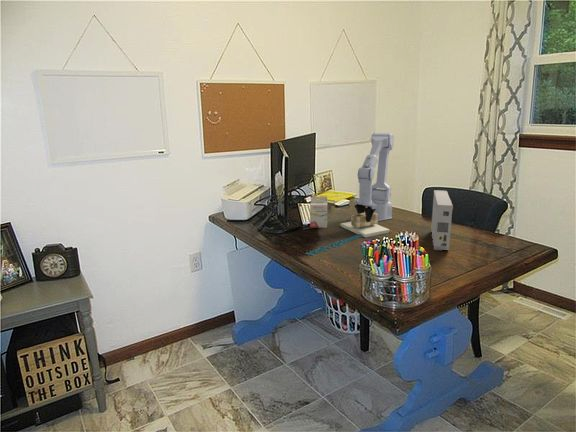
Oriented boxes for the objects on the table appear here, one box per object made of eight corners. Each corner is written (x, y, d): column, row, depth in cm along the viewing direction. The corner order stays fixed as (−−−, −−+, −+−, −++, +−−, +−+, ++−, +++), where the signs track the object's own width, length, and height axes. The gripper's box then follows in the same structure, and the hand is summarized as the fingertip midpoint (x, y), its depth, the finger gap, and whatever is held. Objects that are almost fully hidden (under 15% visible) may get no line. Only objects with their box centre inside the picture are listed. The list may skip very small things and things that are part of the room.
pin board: (363, 222, 214) (363, 212, 213) (389, 232, 197) (390, 222, 195) (340, 226, 208) (340, 216, 206) (365, 237, 191) (365, 227, 189)
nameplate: (302, 254, 173) (311, 257, 170) (302, 252, 173) (311, 255, 169) (359, 234, 196) (367, 236, 193) (359, 232, 196) (368, 235, 193)
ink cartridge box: (310, 227, 207) (309, 198, 203) (310, 224, 212) (310, 196, 208) (327, 227, 206) (327, 198, 202) (327, 224, 211) (327, 196, 207)
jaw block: (351, 225, 201) (351, 215, 200) (371, 221, 206) (371, 211, 205) (357, 227, 197) (357, 217, 195) (377, 223, 202) (378, 213, 201)
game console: (444, 232, 195) (447, 190, 189) (449, 253, 170) (453, 205, 164) (431, 231, 196) (434, 190, 191) (434, 252, 171) (437, 204, 166)
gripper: (349, 190, 202) (349, 218, 206) (368, 196, 189) (367, 225, 193) (361, 189, 205) (360, 215, 209) (380, 194, 192) (379, 223, 196)
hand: (364, 220), depth 201 cm, fingers closed on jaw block, 5 cm apart
